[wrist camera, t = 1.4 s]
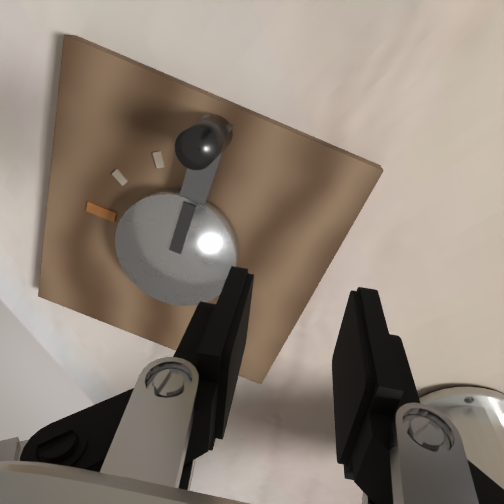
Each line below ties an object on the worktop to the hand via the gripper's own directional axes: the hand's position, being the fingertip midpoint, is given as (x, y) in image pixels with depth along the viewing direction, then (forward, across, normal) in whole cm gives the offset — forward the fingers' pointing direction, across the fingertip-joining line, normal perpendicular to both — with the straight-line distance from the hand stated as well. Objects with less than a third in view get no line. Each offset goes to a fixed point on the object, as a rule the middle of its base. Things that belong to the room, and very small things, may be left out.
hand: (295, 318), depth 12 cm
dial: (+17, +9, +5) cm, 20 cm away
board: (+19, +9, +8) cm, 23 cm away
